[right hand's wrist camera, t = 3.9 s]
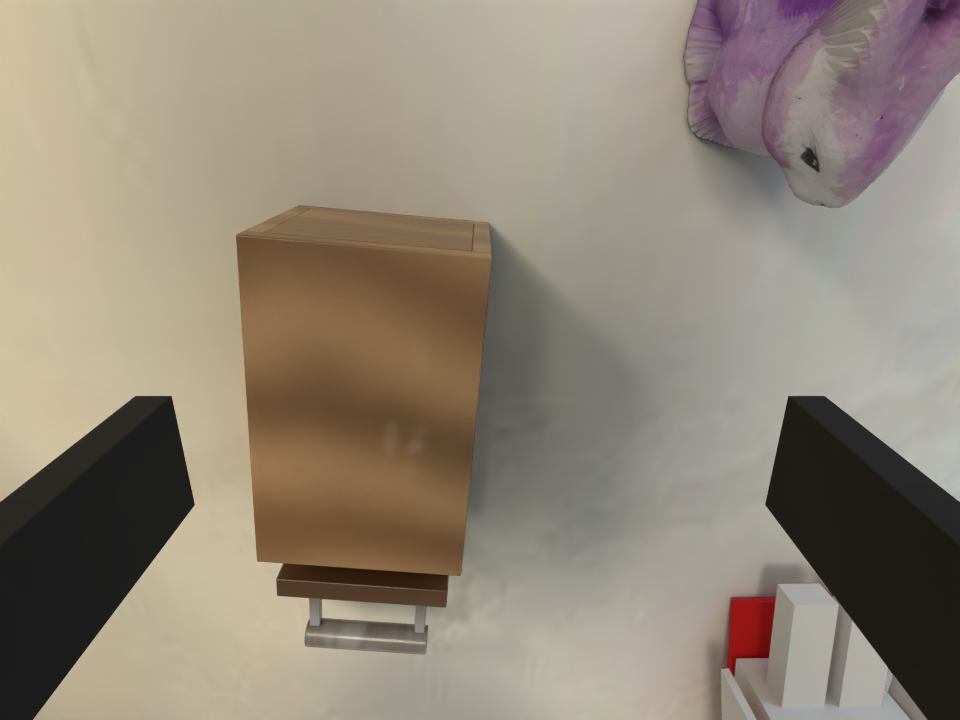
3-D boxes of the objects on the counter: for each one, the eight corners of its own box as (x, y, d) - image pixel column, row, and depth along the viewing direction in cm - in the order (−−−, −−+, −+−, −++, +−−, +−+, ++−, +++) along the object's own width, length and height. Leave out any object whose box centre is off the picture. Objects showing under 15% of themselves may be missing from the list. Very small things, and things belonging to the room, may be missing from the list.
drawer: (445, 594, 41) (439, 684, 34) (312, 585, 41) (280, 674, 34) (471, 300, 33) (469, 345, 27) (306, 286, 33) (263, 327, 26)
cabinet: (465, 479, 39) (460, 576, 30) (305, 466, 38) (256, 562, 30) (489, 222, 32) (492, 257, 24) (298, 205, 32) (235, 234, 24)
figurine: (706, 196, 32) (883, 255, 18) (635, 1, 28) (785, -116, 14) (882, 109, 30) (1229, 98, 16) (830, -109, 27) (1212, -362, 13)
